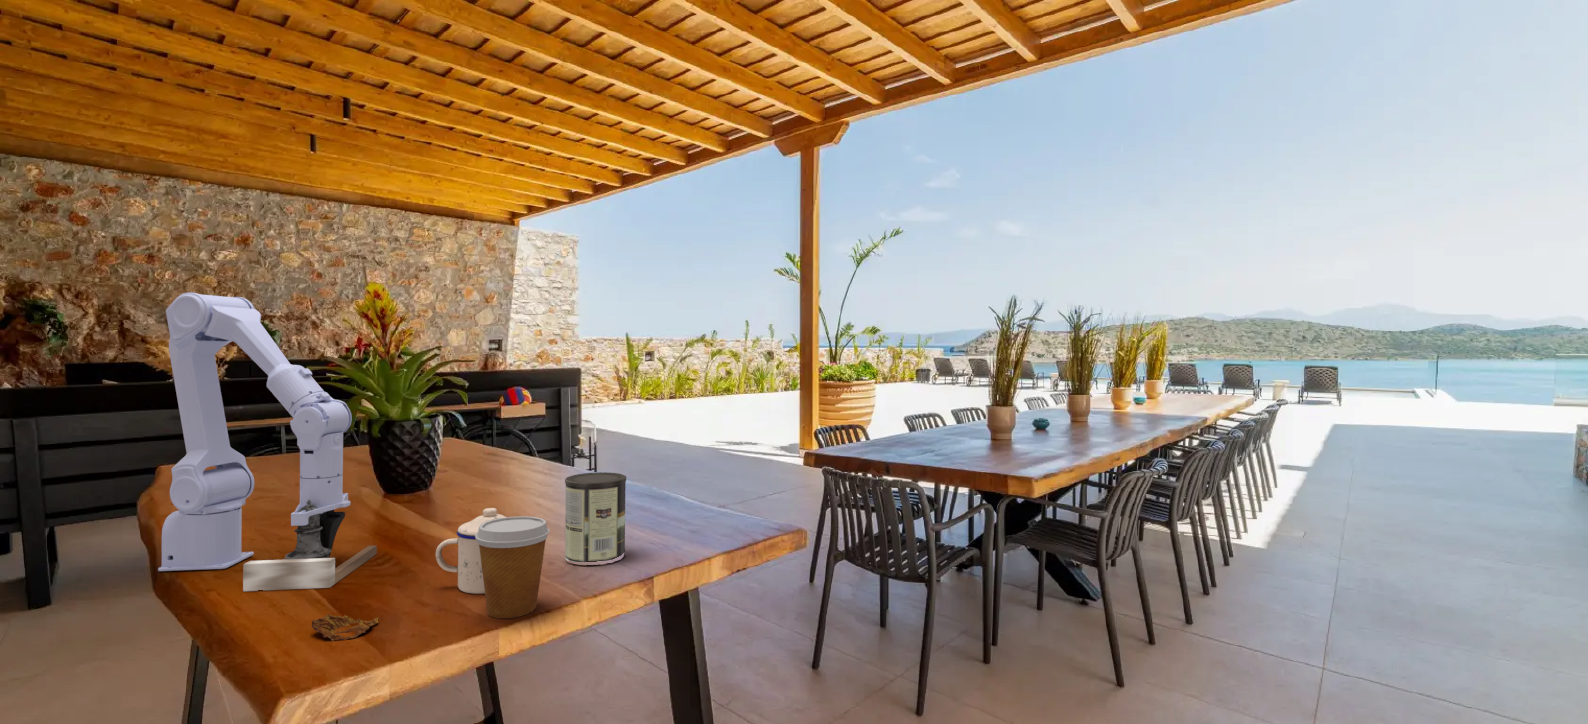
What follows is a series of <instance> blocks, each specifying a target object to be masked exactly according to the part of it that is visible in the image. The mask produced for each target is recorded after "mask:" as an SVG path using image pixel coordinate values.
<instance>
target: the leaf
mask: <svg viewBox="0 0 1588 724" xmlns="http://www.w3.org/2000/svg"><path fill="white" fill-rule="evenodd" d="M379 621H380V618H379V617H376V618H373V619H372V620H361V618H358V619H356V620H354V618H352V617H350V616H348V615H346V614H344V615H343V616H339V615H332V614H329V613H328V614H326V615H324V616H323V617H322V618H318V619H312V620H311V628H312V629H313V630H314V631H315V632H317V633H318V634H321V635H322V637H323V638H329V639H330V640H331V641H335V640H337V641H340V640H342V641H347V640H349V639H355V638H357V637H358V636H359V635H361V634H363V633H366V631H367V630H369V628H370V627H373V626H374V625H376V624H378V623H379ZM357 623H358V624H357ZM364 623H365V624H364ZM351 624H354V625H353V626H352V627H350V628H346V627H348V626H350V625H351ZM355 624H356V625H355ZM340 628H346V629H344V630H339V629H340ZM353 632H355V634H352V636H351V635H349V636H343V635H341V634H347V633H353Z"/></svg>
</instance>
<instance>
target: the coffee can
mask: <svg viewBox="0 0 1588 724" xmlns="http://www.w3.org/2000/svg"><path fill="white" fill-rule="evenodd" d="M626 481H627V475H625V474H622V473H618V472H607V471H605V472H598V471H597V472H586V473H578V474H577V473H576V474H573V475H570V476H567V477H565V479H564V483H565V533H564V534H565V538H564V539H565V542H564V544H565V546H564V548H565V550H564V551H565V552H564V553H565V554H564V560H565V559H566V560H567V561H572V562H578V563H579V562H580V563H582V562H584V563H585V562H597V561H609V560H613V559H615V558H617V557H619V556H621V555H622V554H623V553H624V552H625V553H626V483H627V482H626Z"/></svg>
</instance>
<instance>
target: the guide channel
mask: <svg viewBox="0 0 1588 724" xmlns="http://www.w3.org/2000/svg"><path fill="white" fill-rule="evenodd" d="M377 546H378V545H377V544H376V545H367V546H366V547H365V548H363V549H362V550H360V551H358V552H357V553H356V554H355V555H353V556H352V557H350V558H349V559H347V560H345V561H344V562H343V563H341V564H340V565H337V567H336V557H329V558H314V559H286V558H285V557H284V558H283V559H265V560H263V559H262V560H249V561H247V562H244V563H243V564H242V566H243V569H242V573H243V574H242V584H243V585H242V591H243V592H257V591H258V590H263V591H278V590H279V591H282V590H283V591H284V590H305V589H307V590H308V589H326V588H327V589H328V588H332V587H333V586H334V585H335V584H337V583H338V582H340V581H341V580H343V579H345V578H346V577H347V576H348V575H349V574H351V573H352V572H353V571H355V570H356V569H358V568H359V567H361V565H363V564H365V563H367V562H368V561H369V560H370V559H371V558H373V557H375V556H376V555H377V554H378V548H377ZM258 592H259V591H258Z"/></svg>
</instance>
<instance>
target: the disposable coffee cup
mask: <svg viewBox="0 0 1588 724" xmlns="http://www.w3.org/2000/svg"><path fill="white" fill-rule="evenodd" d="M505 517H506V518H499V519H494V520H490V521H487V522H484V523H482V524H481V525H480V526H479V529H478V533H477V534H476V535H475V539H476V540H477V543H478V544H479V549H480V556H481V565H482V573H483V581H484V589H485V594H484V596H485V602H486V604H485V605H486V611H487V612H486V614H487V615H488V616H490V617H492V618H495V619H512V618H518V617H523V616H525V615H528V614H531V613H532V612H534V611H535V610H536V609H537V603H538V597H539V590H540V582H541V575H542V570H543V563H544V562H543V561H544V555H545V547H546V540H547V538H548V535H549V534H550V528H549V527H548V525H547V521H546V520H545V519H543V518H541V517H537V516H528V515H527V516H525V515H524V516H523V515H522V516H521V515H520V516H509V517H508V516H505ZM535 608H536V609H535ZM534 609H535V610H534ZM533 610H534V611H533ZM530 612H531V613H530Z"/></svg>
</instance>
